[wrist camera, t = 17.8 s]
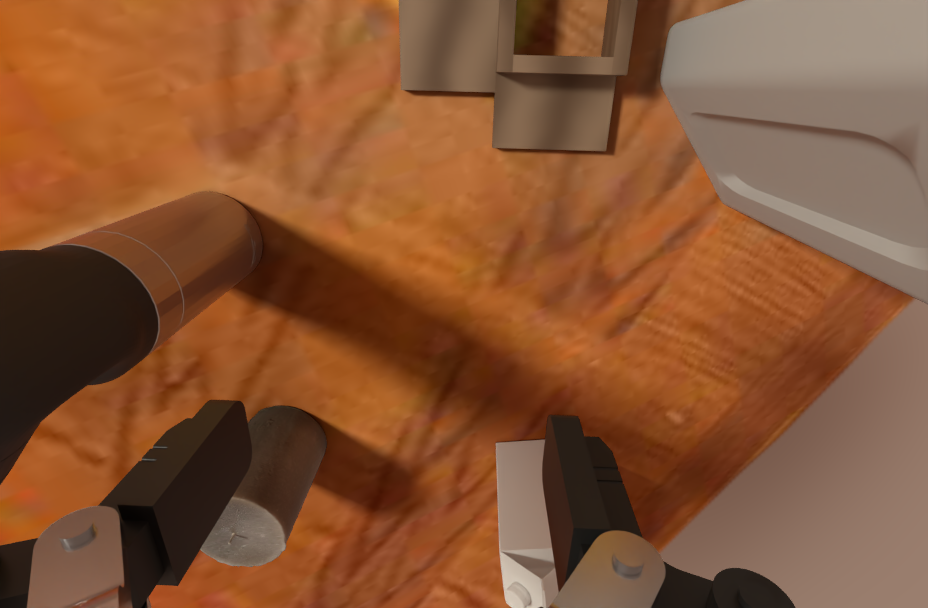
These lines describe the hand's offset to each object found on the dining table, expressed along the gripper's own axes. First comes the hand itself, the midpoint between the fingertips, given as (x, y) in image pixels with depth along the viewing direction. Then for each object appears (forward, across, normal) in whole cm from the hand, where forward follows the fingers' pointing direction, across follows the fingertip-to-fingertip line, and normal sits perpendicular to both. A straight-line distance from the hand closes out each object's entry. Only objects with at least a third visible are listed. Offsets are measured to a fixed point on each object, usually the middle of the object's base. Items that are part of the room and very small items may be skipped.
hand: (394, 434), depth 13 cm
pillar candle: (+36, +20, +31) cm, 52 cm away
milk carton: (+36, -9, +33) cm, 50 cm away
